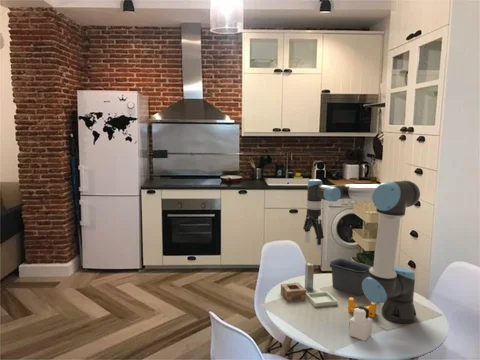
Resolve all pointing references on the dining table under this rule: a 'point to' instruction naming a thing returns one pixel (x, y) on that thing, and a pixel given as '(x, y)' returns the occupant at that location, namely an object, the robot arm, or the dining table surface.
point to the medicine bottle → (360, 323)
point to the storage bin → (349, 275)
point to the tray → (321, 299)
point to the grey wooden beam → (309, 276)
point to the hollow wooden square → (293, 291)
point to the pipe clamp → (371, 308)
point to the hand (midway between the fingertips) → (312, 246)
